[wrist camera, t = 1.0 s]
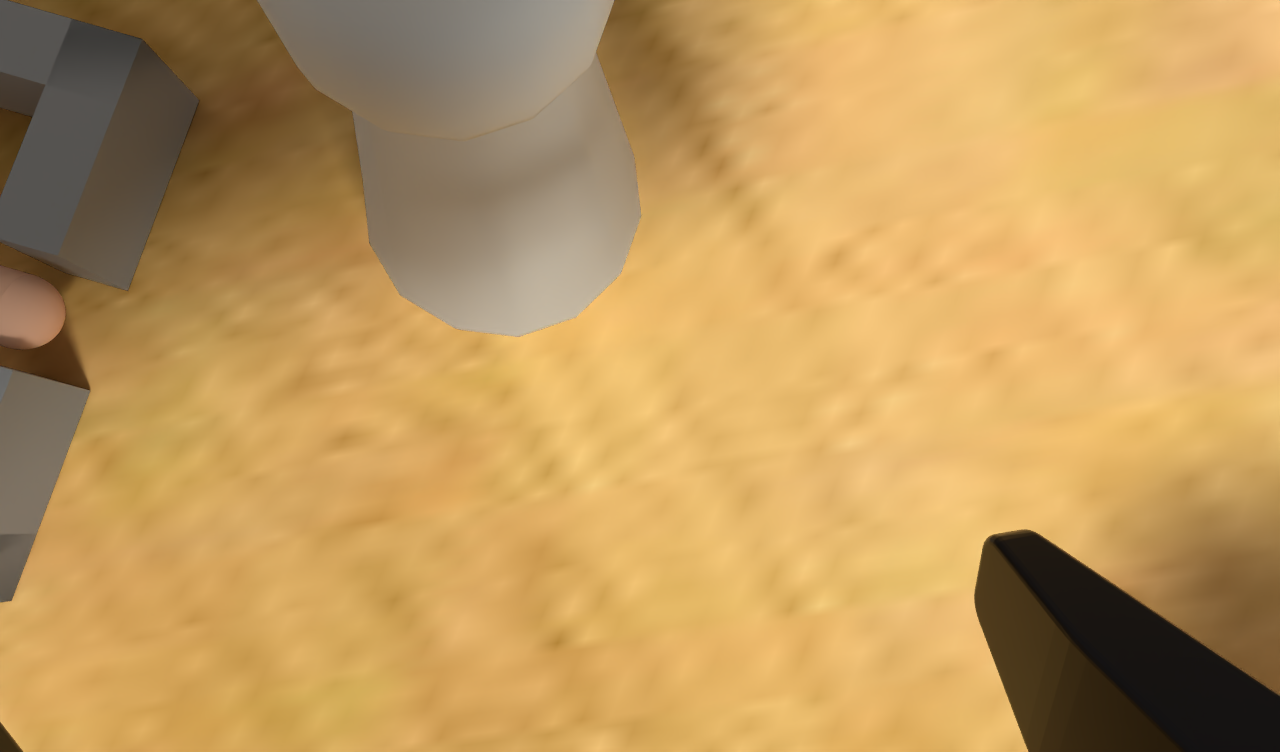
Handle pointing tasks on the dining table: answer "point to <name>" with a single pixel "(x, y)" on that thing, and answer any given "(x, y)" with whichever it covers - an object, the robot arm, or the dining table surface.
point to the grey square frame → (74, 214)
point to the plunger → (28, 310)
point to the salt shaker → (479, 149)
